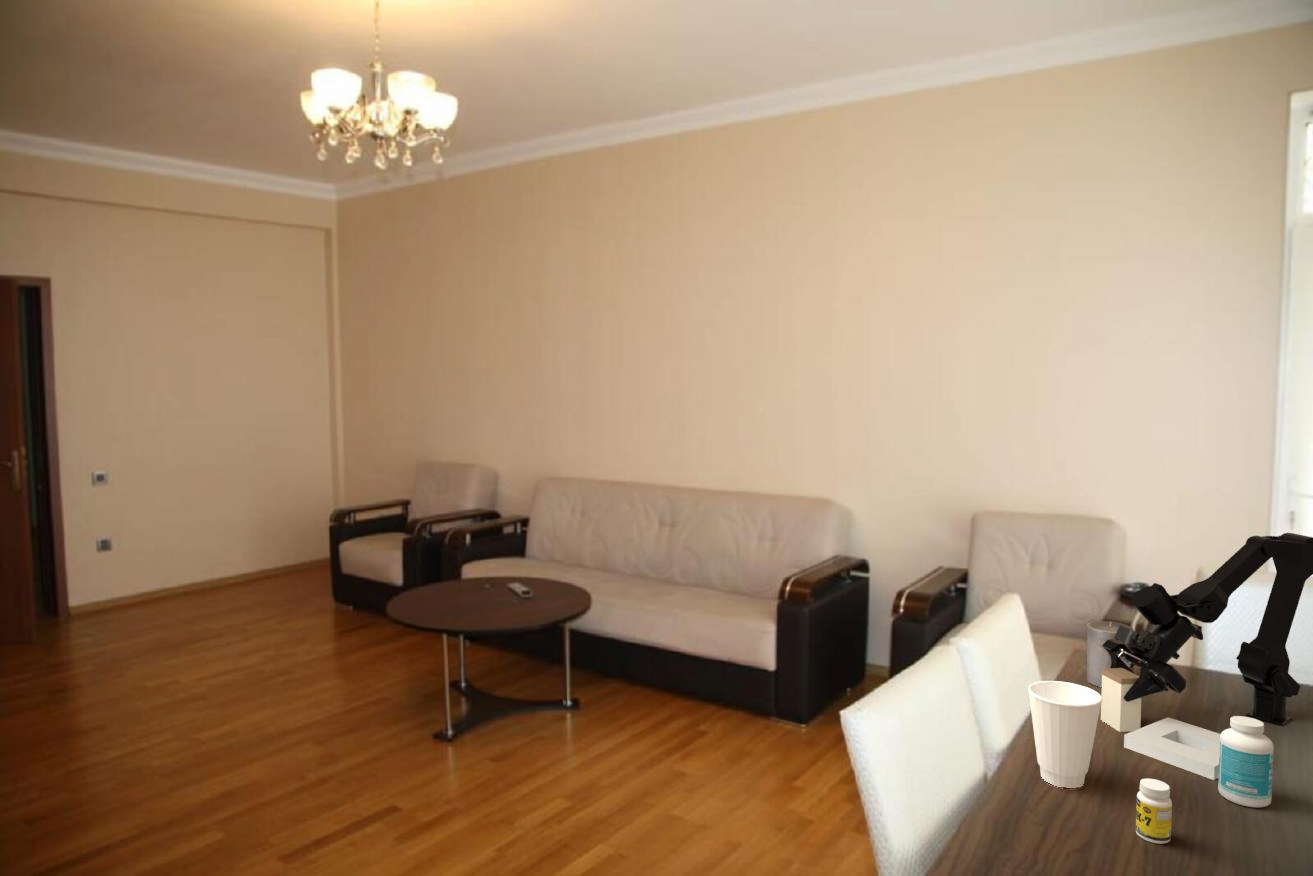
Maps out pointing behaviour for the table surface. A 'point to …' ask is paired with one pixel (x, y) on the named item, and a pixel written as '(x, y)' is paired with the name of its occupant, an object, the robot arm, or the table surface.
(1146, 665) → the robot arm
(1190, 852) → the table surface
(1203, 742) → the socket plate
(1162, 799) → the supplement bottle
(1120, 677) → the tan topped cream pillar
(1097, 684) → the pillar candle
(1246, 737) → the pill bottle
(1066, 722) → the cup
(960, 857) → the table surface
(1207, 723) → the table surface
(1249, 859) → the table surface
